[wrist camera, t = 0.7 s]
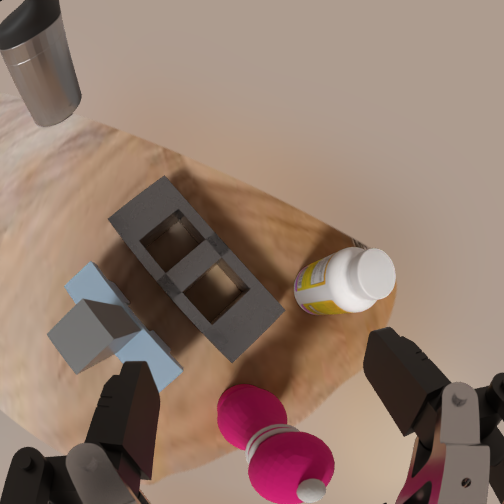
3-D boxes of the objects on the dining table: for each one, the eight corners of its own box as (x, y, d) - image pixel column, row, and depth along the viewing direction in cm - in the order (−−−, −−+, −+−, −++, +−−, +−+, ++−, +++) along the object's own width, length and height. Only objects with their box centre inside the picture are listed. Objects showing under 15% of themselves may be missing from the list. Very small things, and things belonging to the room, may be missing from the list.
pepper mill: (234, 368, 30) (308, 433, 12) (282, 396, 31) (387, 462, 12) (201, 415, 28) (231, 523, 9) (250, 441, 29) (322, 539, 10)
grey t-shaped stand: (81, 291, 28) (4, 266, 12) (104, 270, 29) (42, 226, 14) (158, 383, 28) (139, 444, 12) (183, 362, 29) (184, 407, 14)
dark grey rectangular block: (115, 229, 31) (107, 218, 27) (165, 190, 33) (164, 175, 29) (226, 357, 31) (232, 363, 27) (273, 311, 33) (285, 310, 29)
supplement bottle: (343, 305, 36) (410, 296, 24) (300, 322, 34) (361, 322, 22) (328, 258, 37) (390, 231, 25) (285, 271, 35) (338, 246, 23)
